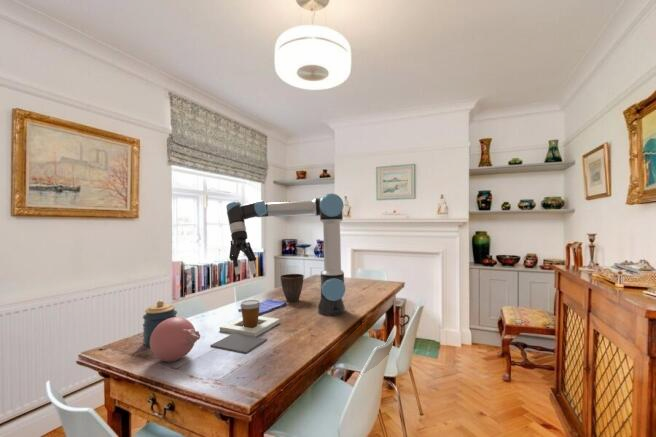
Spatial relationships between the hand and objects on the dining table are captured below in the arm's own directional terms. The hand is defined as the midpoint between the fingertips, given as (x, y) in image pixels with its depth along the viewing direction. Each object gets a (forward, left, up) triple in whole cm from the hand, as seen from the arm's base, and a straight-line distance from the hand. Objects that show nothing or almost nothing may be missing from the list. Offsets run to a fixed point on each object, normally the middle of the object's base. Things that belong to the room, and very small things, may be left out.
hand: (246, 273), depth 148 cm
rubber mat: (-9, +17, -26) cm, 32 cm away
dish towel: (+12, -30, -27) cm, 42 cm away
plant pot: (+4, -50, -26) cm, 57 cm away
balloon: (+2, +38, -26) cm, 46 cm away
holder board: (-1, -1, -26) cm, 26 cm away
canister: (+24, +28, -26) cm, 45 cm away
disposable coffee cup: (-1, -1, -26) cm, 26 cm away
